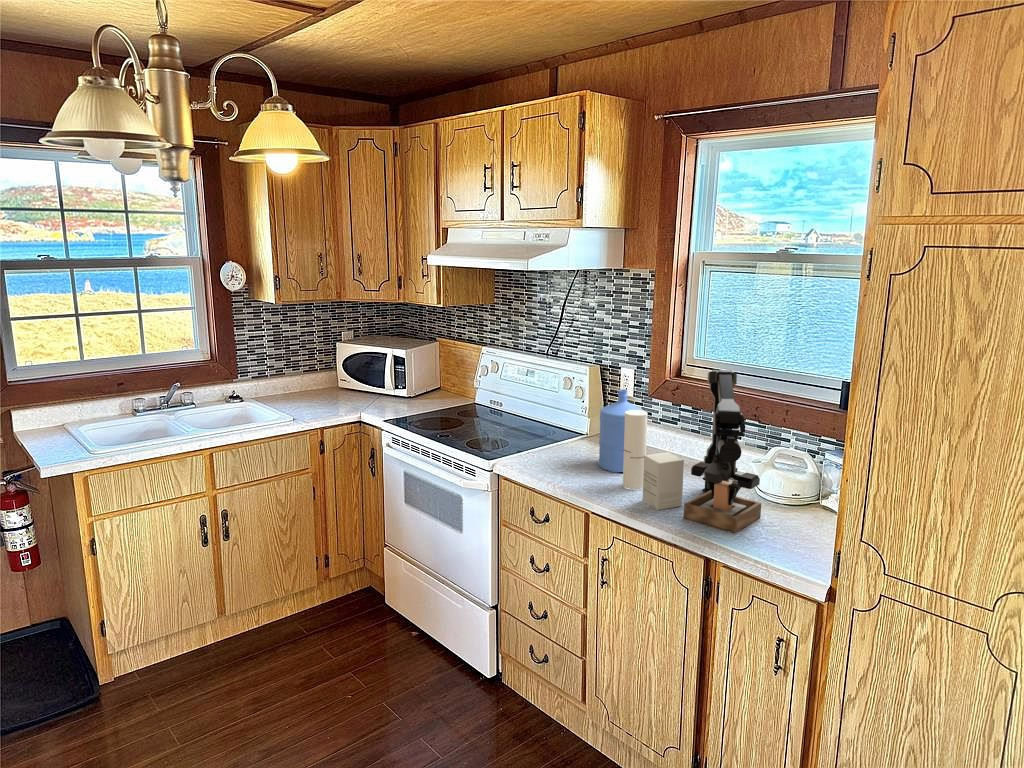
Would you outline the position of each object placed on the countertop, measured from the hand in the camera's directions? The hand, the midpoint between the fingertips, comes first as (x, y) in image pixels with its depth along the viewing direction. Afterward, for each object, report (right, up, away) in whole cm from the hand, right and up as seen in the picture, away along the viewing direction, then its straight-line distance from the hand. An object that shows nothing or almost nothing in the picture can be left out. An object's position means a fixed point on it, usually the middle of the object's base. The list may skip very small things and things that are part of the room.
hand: (723, 503), depth 202 cm
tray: (0, -4, +1) cm, 5 cm away
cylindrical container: (-21, +1, +27) cm, 35 cm away
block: (0, -2, 0) cm, 2 cm away
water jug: (-22, +5, +47) cm, 53 cm away
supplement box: (-15, -2, +12) cm, 20 cm away
